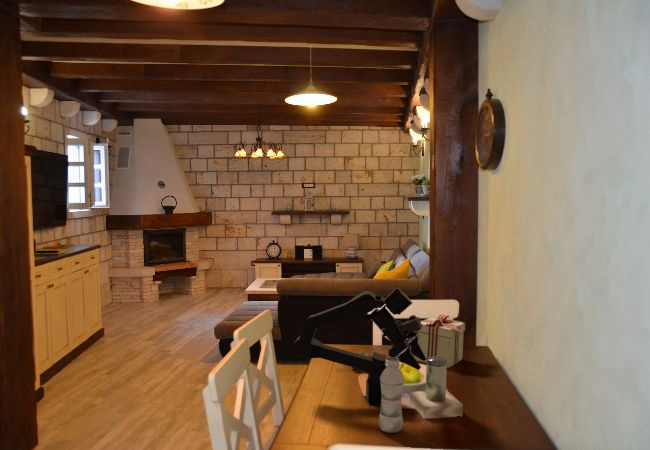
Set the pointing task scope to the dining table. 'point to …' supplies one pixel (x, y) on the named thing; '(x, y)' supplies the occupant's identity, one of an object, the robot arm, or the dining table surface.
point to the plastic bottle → (391, 397)
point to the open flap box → (360, 354)
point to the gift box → (442, 339)
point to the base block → (436, 406)
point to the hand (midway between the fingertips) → (422, 364)
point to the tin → (436, 378)
